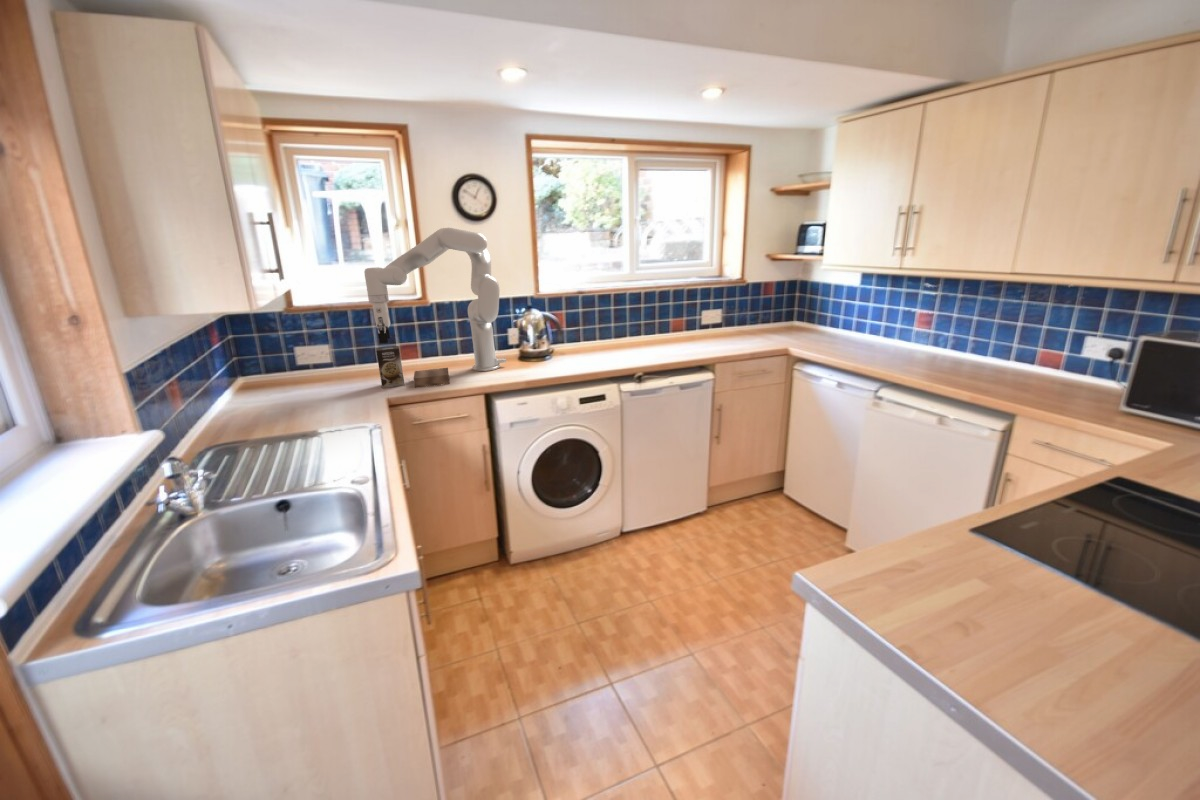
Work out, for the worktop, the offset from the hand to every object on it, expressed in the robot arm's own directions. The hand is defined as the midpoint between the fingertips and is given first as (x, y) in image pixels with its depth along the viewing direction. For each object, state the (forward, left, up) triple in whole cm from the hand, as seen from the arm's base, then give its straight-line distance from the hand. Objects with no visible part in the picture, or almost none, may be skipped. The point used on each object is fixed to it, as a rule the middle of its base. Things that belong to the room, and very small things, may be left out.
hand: (385, 340), depth 219 cm
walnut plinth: (-16, +2, -19) cm, 25 cm away
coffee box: (0, 0, -19) cm, 19 cm away
